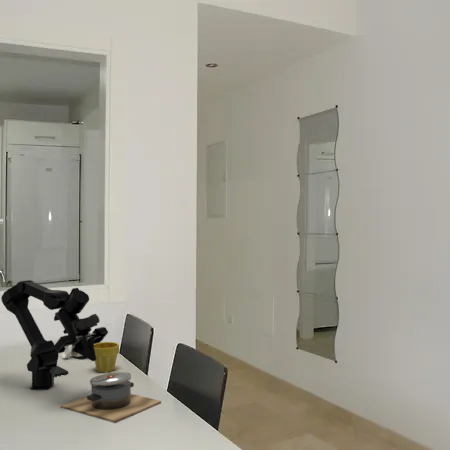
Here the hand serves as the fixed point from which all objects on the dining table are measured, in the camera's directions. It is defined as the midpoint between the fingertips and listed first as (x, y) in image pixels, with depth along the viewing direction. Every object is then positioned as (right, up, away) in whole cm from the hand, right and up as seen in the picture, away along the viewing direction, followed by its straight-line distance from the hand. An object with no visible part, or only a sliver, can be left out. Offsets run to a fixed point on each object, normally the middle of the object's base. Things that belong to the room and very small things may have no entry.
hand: (94, 360), depth 177 cm
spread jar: (-20, -13, +56) cm, 61 cm away
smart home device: (-26, -14, +36) cm, 47 cm away
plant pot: (-4, -13, +36) cm, 38 cm away
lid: (+6, -5, -4) cm, 9 cm away
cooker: (+6, -13, -4) cm, 15 cm away
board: (+6, -13, -4) cm, 15 cm away
